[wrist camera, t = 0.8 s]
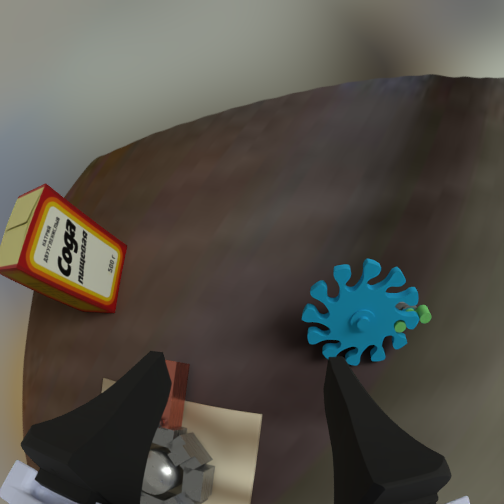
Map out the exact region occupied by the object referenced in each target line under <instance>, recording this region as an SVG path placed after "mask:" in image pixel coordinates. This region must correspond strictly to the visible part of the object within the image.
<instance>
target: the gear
mask: <svg viewBox="0 0 504 504" xmlns="http://www.w3.org/2000/svg"><path fill="white" fill-rule="evenodd" d="M380 271H381V267H380V264H379V263H378V262H376V261H374V260H371V259H366V260H365V261H364V263H363V274H362V276H361V279H360V280H359V281H358V283H357V284H356V285H355V286H353V287H348V286H346V285H345V284H346V282H347V281H348V280H349V279H350V277H351V271H350V267H349V265H346V264H345V265H338V266H335V267H334V278H335V279H336V281H337V282H338V284H339V286H340V291H339V295H338V296H337V297H335V298H330V297H329V296H328V295H327V284H326V283H325V282H324V281H323V280H321V281H318V282H317V283H315V284H314V285H313V286H312V287H311V291H310V293H311V296H312V297H313V298H315V299H317V300H319V301H321V302H322V303H324V304H325V305H326V307H327V308H328V310H329V312H328V313H327V314H321V313H319V312H318V310H317V308H316V307H315V306H314V305H313V304H307V305H306V306H305V308H304V310H303V314H302V320H303V321H305V322H317V323H321V324H323V325H325V326H327V327H328V328H330V329H329V330H327V331H323V330H321V329H319V328H317V327H309V328H308V341H309V344H317V343H319V342H321V341H324V340H338V341H340V342H339V343H336V344H334V343H327V344H325V345H324V346H323V350H322V353H323V355H324V356H325V357H326V358H327V359H329V357H336V356H337V354H338V353H339V352H341V351H342V350H344V349H346V348H349V347H357V348H356V349H353V350H351V351H348V352H347V353H346V355H345V357H346V361H347V363H348V364H350V365H355V366H357V365H358V364H359V363H360V356H361V354H362V352H363V351H364V350H365V349H366V348H367V347H368V346H370V345H375V347H374V348H373V349H372V350H371V352H370V354H371V360H372V361H381V360H384V359H385V352H384V349H383V347H382V342H383V339H384V338H385V337H386V336H388V335H391V336H392V344H393V347H394V348H395V349H399V348H401V347H403V346H404V345H405V344H407V340H406V337H405V334H404V333H401V332H403V331H404V330H405V329H406V326H407V328H408V329H414V328H415V327H416V325H417V324H418V322H419V320H420V321H421V322H422V323H427V322H429V321H430V320H431V314H430V312H429V310H428V308H427V306H426V305H420V306H419V307H418V308H417V307H416V305H417V303H418V292H417V290H416V288H415V287H409V288H408V289H406V290H405V291H403V292H400V293H387V292H386V289H387V288H388V287H391V286H396V287H399V286H402V285H403V284H404V283H405V282H406V280H405V277H404V275H403V273H402V272H401V270H400V269H399V268H398V267H394V268H393V269H391V271H390V272H389V274H388V276H387V277H386V278H385V279H384V280H382V281H381V282H379V283H377V284H375V285H368V284H367V282H368V281H369V280H370V279H371V278H374V277H376V276H377V275H379V273H380Z"/></svg>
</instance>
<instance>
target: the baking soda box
mask: <svg viewBox="0 0 504 504" xmlns="http://www.w3.org/2000/svg"><path fill="white" fill-rule="evenodd" d="M126 249H127V245H125V244H124V243H123V242H121V241H120V240H119V239H117V238H116V237H114V236H113V235H112V234H110V233H109V232H108V231H106V230H105V229H104V228H102V227H101V226H100V225H98V224H97V223H96V222H94V221H93V220H92V219H90V218H89V217H88V216H86V215H85V214H84V213H82V212H81V211H80V210H79V209H77V208H76V207H75V206H73V205H72V204H71V203H70V202H68V201H67V200H66V199H65V198H63V197H62V196H61V195H59V194H58V193H57V192H56V191H54V190H53V189H52V188H51V187H50V186H48V185H47V184H43V185H41V186H39V187H37V188H35V189H33V190H31V191H29V192H27V193H25V194H23V195H21V196H19V197H18V199H17V201H16V204H15V206H14V209H13V211H12V214H11V216H10V219H9V221H8V224H7V226H6V229H5V234H4V236H3V240H2V242H1V246H0V274H1V275H3V276H5V277H7V278H9V279H11V280H13V281H15V282H17V283H19V284H21V285H23V286H25V287H27V288H30V289H32V290H34V291H36V292H38V293H40V294H43V295H45V296H47V297H49V298H52V299H54V300H56V301H59V302H61V303H63V304H66V305H68V306H70V307H73V308H75V309H78V310H80V311H83V312H100V313H115V309H116V302H117V296H118V290H119V285H120V279H121V274H122V269H123V264H124V259H125V254H126Z"/></svg>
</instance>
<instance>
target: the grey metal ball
mask: <svg viewBox="0 0 504 504" xmlns="http://www.w3.org/2000/svg"><path fill="white" fill-rule="evenodd" d="M169 453H171V451H170V450H169V448H167V447H159V448H155V449H151V450H150V451H149V455H148V459H147V464H146V468H145V473H144V478H143V485H142V490H143V491H145V492H147V493H149V494H153V495H158V494H162V493H164V492H166V491H169V490H171V489H173V488H175V487H177V486H180V485H182V483H183V473H184V470H183V469H182V467H181V466H180V465H179V466H175V465H174V464H173V462H172V461H171V459H170V458H169V456H168V454H169Z"/></svg>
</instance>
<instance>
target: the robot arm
mask: <svg viewBox="0 0 504 504" xmlns="http://www.w3.org/2000/svg"><path fill="white" fill-rule="evenodd" d="M171 385H172V382H171V379H170V375H169V372H168V369H167V365H166V362H165V358H164V355H163V352H155V351H150V352H149V353H148V354H147V355H146V356H145V357H144V358H142V359H141V360H140V361H139V362H138V363H137V364H136V365H135V366H134V367H133V368H132V369H131V370H129V371H128V372H127V373H126V374H125V375H124V376H123V377H122V378H120V379H119V380H118V381H117V382H115V383H114V384H113V385H112V386H111V387H109V388H108V389H107V390H106V391H104V392H103V393H101V394H100V395H99V396H97V397H96V398H94V399H92V400H91V401H89V402H88V403H86V404H84V405H82V406H80V407H79V408H77V409H75V410H73V411H71V412H69V413H67V414H64V415H62V416H60V417H57V418H54V419H52V420H49V421H45V422H42V423H39V424H35V425H32V426H31V428H30V430H29V431H28V433H27V434H26V436H25V437H24V439H23V441H22V442H21V447H22V449H23V450H24V452H25V453H26V454H27V455H28V456H29V457H30V458H31V459H32V460H33V461H34V462H35V463H36V464H37V465H38V466H39V467H40V470H39V472H37V471H36V470H35V469H33V468H31V467H30V466H28V465H26V464H24V463H23V462H21V461H19V460H16V462H15V463H14V465H13V467H12V469H11V471H10V472H9V474H8V476H7V478H6V479H5V481H4V483H3V485H2V487H1V489H0V497H1V498H2V499H4V500H5V501H6V502H8V503H9V504H140V499H141V491H142V485H143V478H144V473H145V468H146V464H147V459H148V455H149V451H150V447H151V444H152V441H153V438H154V436H155V433H156V430H157V428H158V425H159V423H160V420H161V418H162V415H163V413H164V410H165V407H166V405H167V402H168V398H169V394H170V390H171ZM324 404H325V413H326V418H327V424H328V429H329V435H330V440H331V446H332V453H333V465H334V504H436V502H437V501H438V495H437V492H438V491H439V490H440V489H441V488H443V487H444V486H445V485H446V484H447V483H448V481H449V480H450V478H451V472H450V469H449V466H448V464H447V462H446V460H445V458H444V456H442V455H440V454H439V453H437V452H435V451H433V450H431V449H429V448H428V447H426V446H424V445H423V444H421V443H420V442H418V441H417V440H415V439H414V438H413V437H411V436H410V435H409V434H408V433H406V432H405V431H404V430H402V429H401V428H400V427H399V426H398V425H397V424H396V423H394V422H393V421H392V420H391V419H390V418H389V417H388V416H387V415H386V414H385V413H384V412H383V411H382V409H381V408H380V407H379V406H378V405H377V404H376V403H375V401H374V400H373V399H372V398H371V397H370V395H369V394H368V393H367V391H366V390H365V389H364V387H363V386H362V384H361V383H360V382H359V380H358V379H357V377H356V376H355V374H354V373H353V371H352V370H351V368H350V366H349V365H348V363H347V361H346V359H345V358H344V357H343V356H341V357H329V359H328V365H327V372H326V378H325V383H324ZM445 504H470V502H469V498H468V496H464V497H461V498H459V499H456V500H453V501H451V502H448V503H445Z"/></svg>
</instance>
